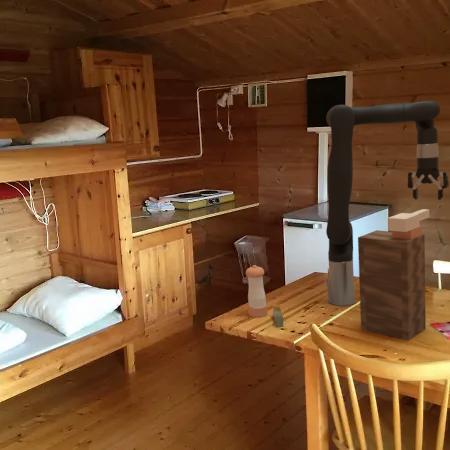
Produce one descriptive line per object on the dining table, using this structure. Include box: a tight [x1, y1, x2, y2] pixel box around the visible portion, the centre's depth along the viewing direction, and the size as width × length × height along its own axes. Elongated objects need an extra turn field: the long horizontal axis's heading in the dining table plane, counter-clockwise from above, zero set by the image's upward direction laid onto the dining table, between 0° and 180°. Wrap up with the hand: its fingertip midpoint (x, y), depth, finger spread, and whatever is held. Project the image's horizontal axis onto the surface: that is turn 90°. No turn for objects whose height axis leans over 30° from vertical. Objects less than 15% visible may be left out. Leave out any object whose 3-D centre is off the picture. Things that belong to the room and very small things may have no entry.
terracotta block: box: [391, 225, 422, 240], centre depth 174 cm, size 7×6×3 cm
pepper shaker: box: [245, 264, 268, 318], centre depth 206 cm, size 7×7×19 cm
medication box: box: [272, 305, 284, 328], centre depth 198 cm, size 12×3×4 cm, turn 1°
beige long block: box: [387, 208, 430, 232], centre depth 176 cm, size 20×6×4 cm, turn 135°
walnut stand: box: [357, 229, 427, 342], centre depth 180 cm, size 12×17×32 cm
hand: (428, 199), depth 204 cm, fingers open, 8 cm apart
